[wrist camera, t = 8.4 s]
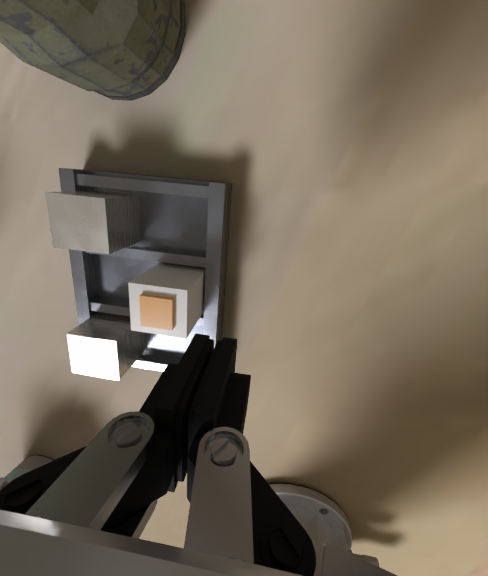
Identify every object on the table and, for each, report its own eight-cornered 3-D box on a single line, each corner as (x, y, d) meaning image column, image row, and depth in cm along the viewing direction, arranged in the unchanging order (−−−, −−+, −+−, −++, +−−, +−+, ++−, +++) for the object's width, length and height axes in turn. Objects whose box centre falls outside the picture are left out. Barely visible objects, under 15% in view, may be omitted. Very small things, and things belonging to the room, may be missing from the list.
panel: (231, 183, 20) (214, 183, 15) (219, 366, 25) (204, 409, 20) (82, 169, 21) (21, 165, 16) (101, 347, 26) (59, 384, 21)
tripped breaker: (207, 268, 21) (185, 292, 16) (205, 308, 22) (184, 341, 18) (159, 262, 21) (125, 284, 17) (160, 302, 22) (128, 332, 18)
